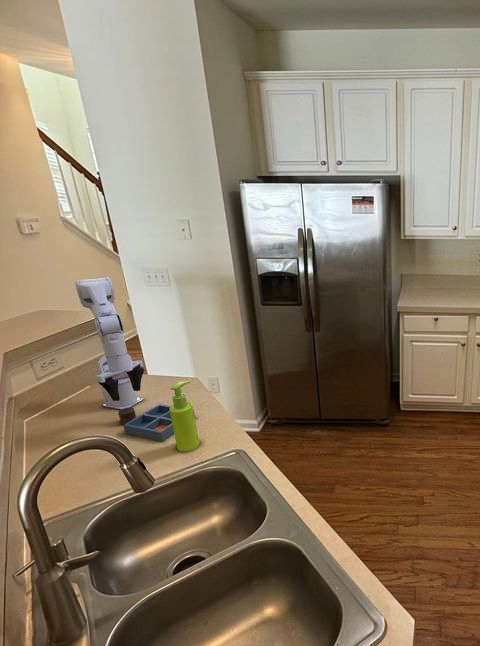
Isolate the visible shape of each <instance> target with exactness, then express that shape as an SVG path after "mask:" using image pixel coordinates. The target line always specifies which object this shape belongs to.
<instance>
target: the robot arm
mask: <svg viewBox="0 0 480 646" xmlns="http://www.w3.org/2000/svg"><path fill="white" fill-rule="evenodd" d="M74 285H75V289H76V292H77V296H78V298H79V302H80V304H81V305H82V307H83V308H87V309H89V310H90V311H91V313H92V314H93V317H94V325H95V329H96V331H97V335H98V337H99V339H100V342H101V345H102V349H103V352H104V354H103V355H102V356H101V357H100V358H99V359H98V361H97V368H98V373H99V374H98V375H95V378H96V382H97V383H98V385H100V386H101V393H102V396H103V400H104V402H105V403H104V404H103V407H106V408H110V409H116V410H121V409H124V408H128V407H134V406H135V405H136V404H139V403H141V402H142V401H144V398H142V397H139V396H138V397H137V393H136V392H140V391H141V387H142V386H141V385H142V378H143V375H144V373H145V368H144V362H143V360H140V359H137V360H134V361H133V360H132V356H131V355H130V354H129V352H128V348H127V345H126V340H125V336H124V332H125V329H124V323H123V320H122V318H121V315H120V313H118V312H117V311H116V309H115V306H114V303H115V290H114V285H113V283H112V279H111V278H110V277H108V276H106V277H101V278H99V277H98V278H90V279H81V280H79V279H76V280H75V282H74Z"/></svg>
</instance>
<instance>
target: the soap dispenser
mask: <svg viewBox="0 0 480 646" xmlns="http://www.w3.org/2000/svg"><path fill="white" fill-rule="evenodd" d="M188 384H191V381H189V380H182V381H178V382H177V383H175V384H173V385H171V386H170V390H172V391H174V394H173V395H172V396H171V399H172V403H173V404H172V405H170V406H171V407H170V409H169V410H170V415H171V419H172V424H173V429H174V434H173V435H174V439H175V443H176V448H177V450H178V451H179V452H190V451H193V450H195V449H196V448H198V447H199V446H200V439H199V434H198V429H197V428H198V427H197V423H196V416H195V417H194V414H195V411H194V412H193V410H194V407H193V403H191V402H188V401H187V395H186V394H185V393H182V387H184V386H186V385H188Z"/></svg>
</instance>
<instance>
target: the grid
mask: <svg viewBox="0 0 480 646" xmlns="http://www.w3.org/2000/svg"><path fill="white" fill-rule="evenodd" d="M171 406H172V405H167V404H162V403H158V404H156V405H154V406H153V407H151V408H150V409H148V410H146V411H144V412H143V413H142V414H139V415H138V416H136V418H134V419H133V420H131V421H129V422H128V423H126V424H124V425H122V426H123V429H124V433H125V434H126V435H130V436H134V437H135V436H136V437H140V438H144V439H149V440H154V441H159V442H164V441H165V440H167V439H168V438H170V437H171V436H172V435H175V434H174V429H173V424H172V419H171V415H170V410H169V409H170V407H171ZM193 412H194V417H195V418H196V415H195V410H194V409H193Z"/></svg>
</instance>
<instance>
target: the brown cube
mask: <svg viewBox="0 0 480 646" xmlns="http://www.w3.org/2000/svg"><path fill="white" fill-rule="evenodd" d="M117 414H118V417H119V421H120V424H121V425H122V426H123V425H124V424H126V423H128V422H129V421H131V420H133V419H134V418H136V417H137V415H136V411H135V408H134V407H133V406H131V407H128V408H124V409H119V410H118V411H117Z"/></svg>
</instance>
